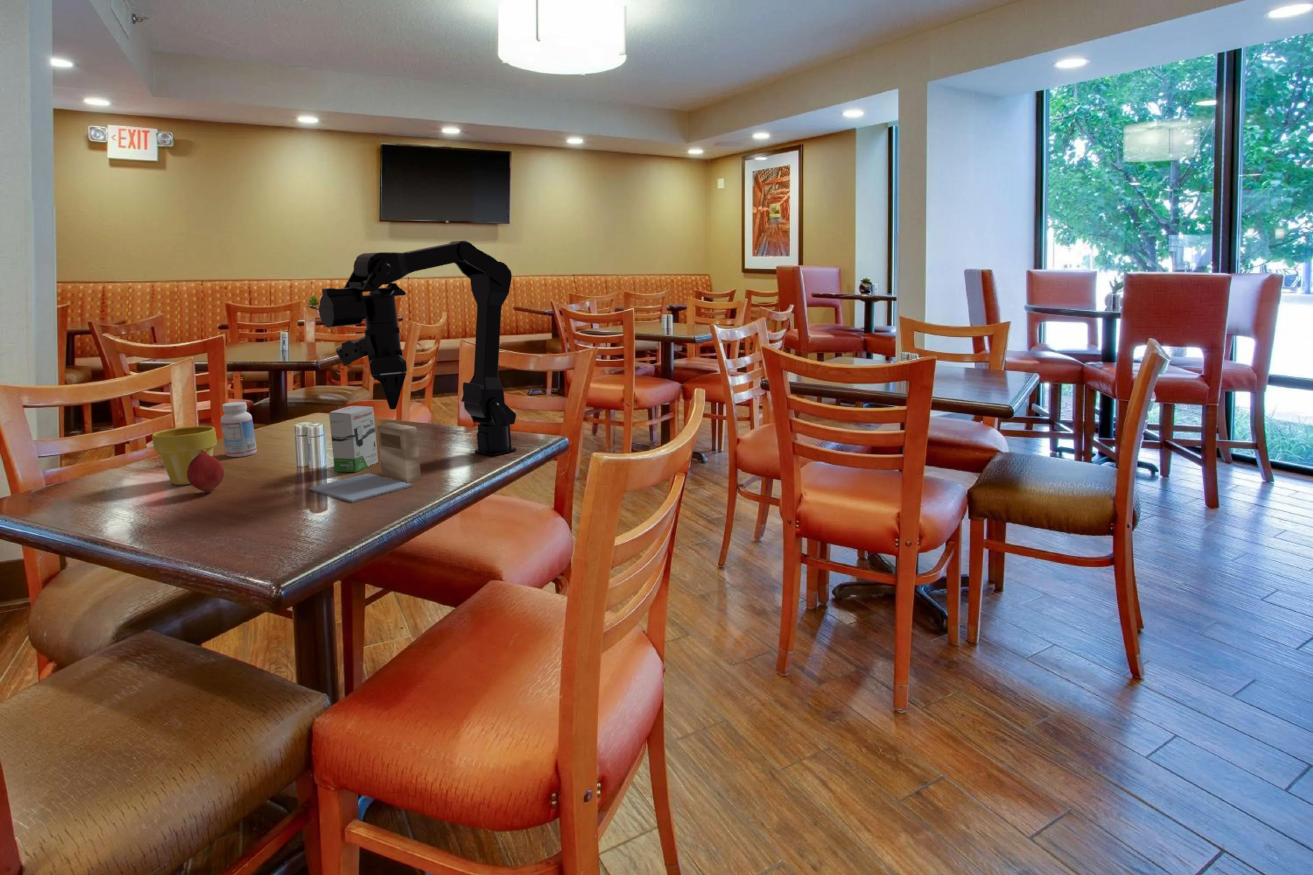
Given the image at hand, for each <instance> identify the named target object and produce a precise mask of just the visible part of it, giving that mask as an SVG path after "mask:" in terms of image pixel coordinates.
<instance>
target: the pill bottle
mask: <svg viewBox="0 0 1313 875" xmlns="http://www.w3.org/2000/svg"><path fill="white" fill-rule="evenodd" d="M247 408H248V406H247V402H246V401H232V402H227V403H225V402H224V403H223V404H222V411H223V412H224V414H223V415H222V416H221V418H220V423H221V424H220V425H221V430H222V437H223V443H224V445H223V446H224V450H225V451H224V452H225V455H226V456H227V457H230V458H241V457H242V458H243V457H247V456H252V455H254V454H256V453H257V451H258V450H257V448H258V447H257V442H256V436H255V429H254V422H253V416H252V414H251V413H250V412H248V411H247V410H248V409H247Z"/></svg>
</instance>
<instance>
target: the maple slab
mask: <svg viewBox="0 0 1313 875" xmlns="http://www.w3.org/2000/svg"><path fill="white" fill-rule="evenodd" d="M376 426H377V437H378V448H379V456H380V457H379V458H380V467H381V477H382V476H383V477H385V478H386V477H387V478H389V479H390V478H392V479H393V480H394V479H395V480H397V481H401V482H402V481H403V482H405V483H406V482H407V483H408V482H409V483H412V482H411V481H413V482H416V481H419V480H422V475H421V474H422V472H421V464H420V453H419V451H420V450H419V443H418V441H419V440H418V431H417V427H416V426H412V425H406V424H401V423H394V422H388V423H383V424H377V425H376Z"/></svg>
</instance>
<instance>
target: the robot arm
mask: <svg viewBox="0 0 1313 875" xmlns="http://www.w3.org/2000/svg"><path fill="white" fill-rule="evenodd" d="M451 264H455V265H456V267H457V268H458V269H459V271H460V272H461V273H462V274H463V275H464V276H466V277H467V278H468V279H469V281H470V290H471V293H472V296H473V298H474V300H475V303H476V322H475V324H476V325H475V342H474V343H475V344H474V346H475V347H474V364H473V365H474V367H473V375H472V377H471V379H470V380H469V382H465V381H464V382H463V383H462V397H461V402H462V403H463V408H464V410H465V411H466V413H467V414H468V415H470V418H471V420H472V422H473V423H475V424H477V432H476V440H477V442H476V443H477V449H474V453H476V454H482V455H487V456H493V457H496V456H499V455H504V454H507V453H511V452H515V451H517V447H514V446H512V436H511V435H512V434H511V425H514V424H515V423H516V418H517V413H516V412H515V411H514V410H512V409H511V407H509V406H508V405H507V403H506V400H505V391H504V388H503V385H502V382H501V381H500V378H499V364H500V362H499V359H500V358H499V357H500V344H501V343H500V342H501V341H500V340H501V324H502V323H501V319H502V308H503V305H504V302H505V301H506V300H507V298H508V295H509V293H510V290H511V284H512V280H513V278H512V276H513V275H512V271H511V269H510V268H509V267H508V265H507V264H506V263H505V262H503V261H498V260H497V259H496V258H495V257H493V256H492V255H489V254H488V253H486V252H484V251H482V250H480V249H478V248H477V247H476V246H475V245H474V244H472V243H470V242H469V241H466V240H453V241H451V242H449V243H446V244H438V245H435V246H429V247H424V248H423V247H422V248H420V249H415V250H409V251H405V252H397V251H396V252H394V251H391V252H389V251H388V252H387V251H384V252H380V251H379V252H365V253H361V254H359V255H357V257H356V258H355V260H354V262H353V271H352V272H351V274H350V276H349V277H348V279H347V282H346V283H345V285H344V287H343V288H333V287H332V288H330V287H329V288H328V287H327V288H322V289H321V294H322V296H321V297H320V300H319V306H318V313H319V314H318V315H319V318H320V320H321V323H322V324H323V325H324V327H326V328H327V329H328V328H329V329H330V328H339V327H347V326H357V325H361V323H362V322H363V320H364V322H365V329H364V336H362V337H360V338H357V339H354V340H353V341H352V340H350V339H348V340H347V341H344V342H341V346H339V347H337V348H336V349H335V353H336V355H337V356H338V358H339V360H340V362H341V363H342V365H343V367H346V366H349V365H351V364H352V363H353V362H355V361H357V360H359V359H362V358H365V357H366V356H367V360H368V366H369V372H370V376H371V377H372V378H373V379H375V380H376V381H378V382H379V383H380V384H381V387H382V390H383V392H384V396H385V399H386V401H387V405H388V408H389V410H392V411H393V410H397V408H398V407H397V406H398V404H399V400H400V396H401V393H402V388H403V386H404V382H405V379H406V376H407V371H408V367H407V360H406V358H404V357H403V350H402V347H401V346H402V344H401V337H400V331H401V330H400V326H399V322H398V321H399V320H398V313H397V304H396V297H399V296H400V297H401V296H403V297H404V296H406V294H407V292H406V291H405V290H403V289H402V288H400V286H398V284H397V283H396V281H398V280H399V281H400V280H401V279H403V278H404V277H406V276H408V275H409V274H412V273H414V272H418V271H422V270H428V269H433V268H438V267H443V266H447V265H451ZM383 285H387V286H385V287H382V286H383ZM366 292H367V293H368V294H363V293H366Z"/></svg>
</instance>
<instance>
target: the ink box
mask: <svg viewBox="0 0 1313 875" xmlns="http://www.w3.org/2000/svg"><path fill="white" fill-rule="evenodd" d="M374 412H375V411H374V406H366V405H365V406H363V405H350V406H349V405H348V406H346V407H343V408H339V409H335V410H332V411H330V412H329V414H328V417H329V427H330V435H331V436H330V437H331V445H332V446H331V447H332V457H333V466H334V471H335V472H338V473H339V472H340V473H343V472H344V473H345V472H347V473H350V472H351V473H358V472H359V471H362V470H364V469H366V468H368V467H371V466H373V465H375V464H377V463H379V456H378V447H377V436H376V427H375V426H376V425H375V414H374ZM372 464H373V465H372ZM370 465H371V466H370Z"/></svg>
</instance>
